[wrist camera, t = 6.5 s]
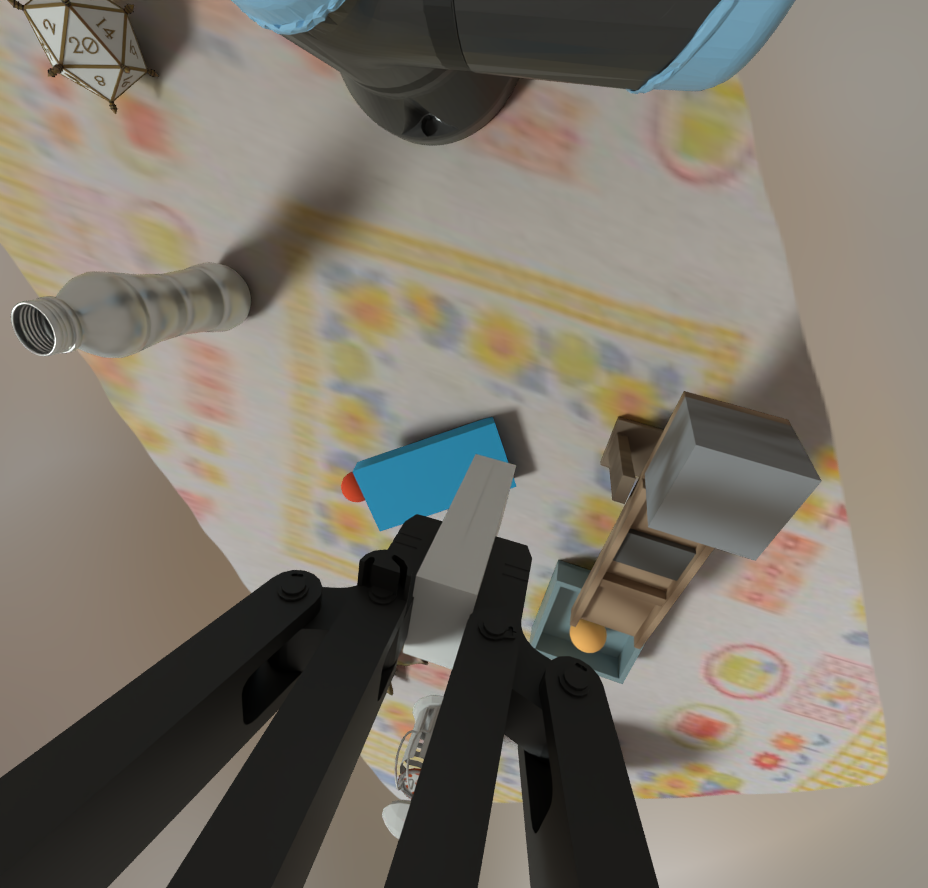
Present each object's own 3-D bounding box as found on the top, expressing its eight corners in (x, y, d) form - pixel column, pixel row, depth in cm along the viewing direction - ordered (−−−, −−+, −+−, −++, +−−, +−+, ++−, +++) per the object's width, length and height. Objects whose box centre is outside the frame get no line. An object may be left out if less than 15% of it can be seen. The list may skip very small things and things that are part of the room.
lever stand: (618, 416, 45) (625, 459, 37) (729, 448, 44) (763, 500, 35) (600, 461, 47) (603, 512, 39) (705, 493, 46) (732, 552, 38)
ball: (580, 612, 56) (590, 602, 53) (607, 639, 55) (619, 630, 52) (558, 635, 55) (567, 627, 51) (585, 664, 53) (596, 657, 50)
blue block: (488, 404, 53) (333, 458, 55) (494, 422, 46) (316, 483, 48) (508, 460, 55) (358, 510, 57) (516, 486, 48) (345, 542, 50)
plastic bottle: (196, 301, 51) (-14, 338, 33) (218, 246, 48) (-1, 255, 30) (245, 339, 51) (63, 396, 34) (270, 287, 48) (84, 320, 30)
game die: (169, 48, 45) (136, -42, 36) (163, 140, 45) (129, 75, 36) (54, 12, 42) (-14, -96, 33) (50, 110, 42) (-19, 32, 33)
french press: (428, 744, 72) (357, 973, 50) (396, 688, 69) (305, 907, 46) (488, 742, 69) (439, 986, 46) (457, 683, 65) (390, 916, 43)
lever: (684, 391, 33) (695, 444, 28) (788, 419, 32) (821, 481, 27) (571, 608, 48) (564, 670, 43) (639, 631, 48) (641, 697, 42)
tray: (558, 559, 53) (556, 580, 50) (656, 592, 52) (660, 615, 49) (531, 628, 58) (528, 650, 55) (620, 659, 57) (622, 684, 54)
